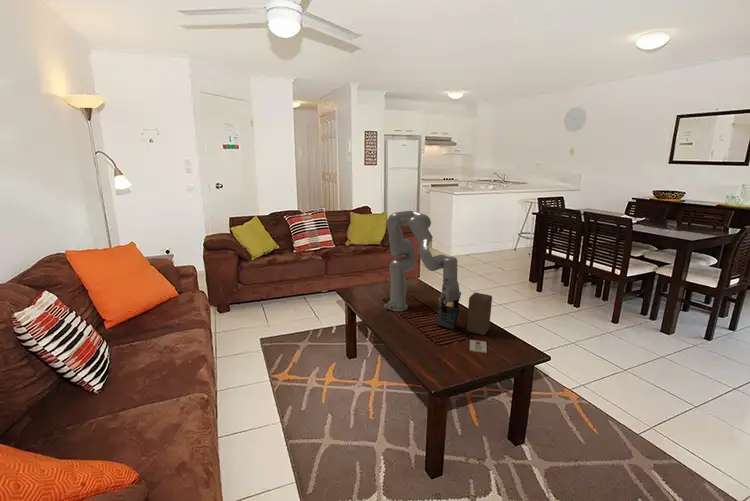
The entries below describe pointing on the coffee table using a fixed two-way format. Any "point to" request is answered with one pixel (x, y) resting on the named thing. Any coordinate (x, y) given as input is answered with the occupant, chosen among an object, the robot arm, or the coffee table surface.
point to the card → (478, 346)
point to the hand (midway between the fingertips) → (450, 310)
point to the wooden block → (479, 313)
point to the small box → (447, 317)
